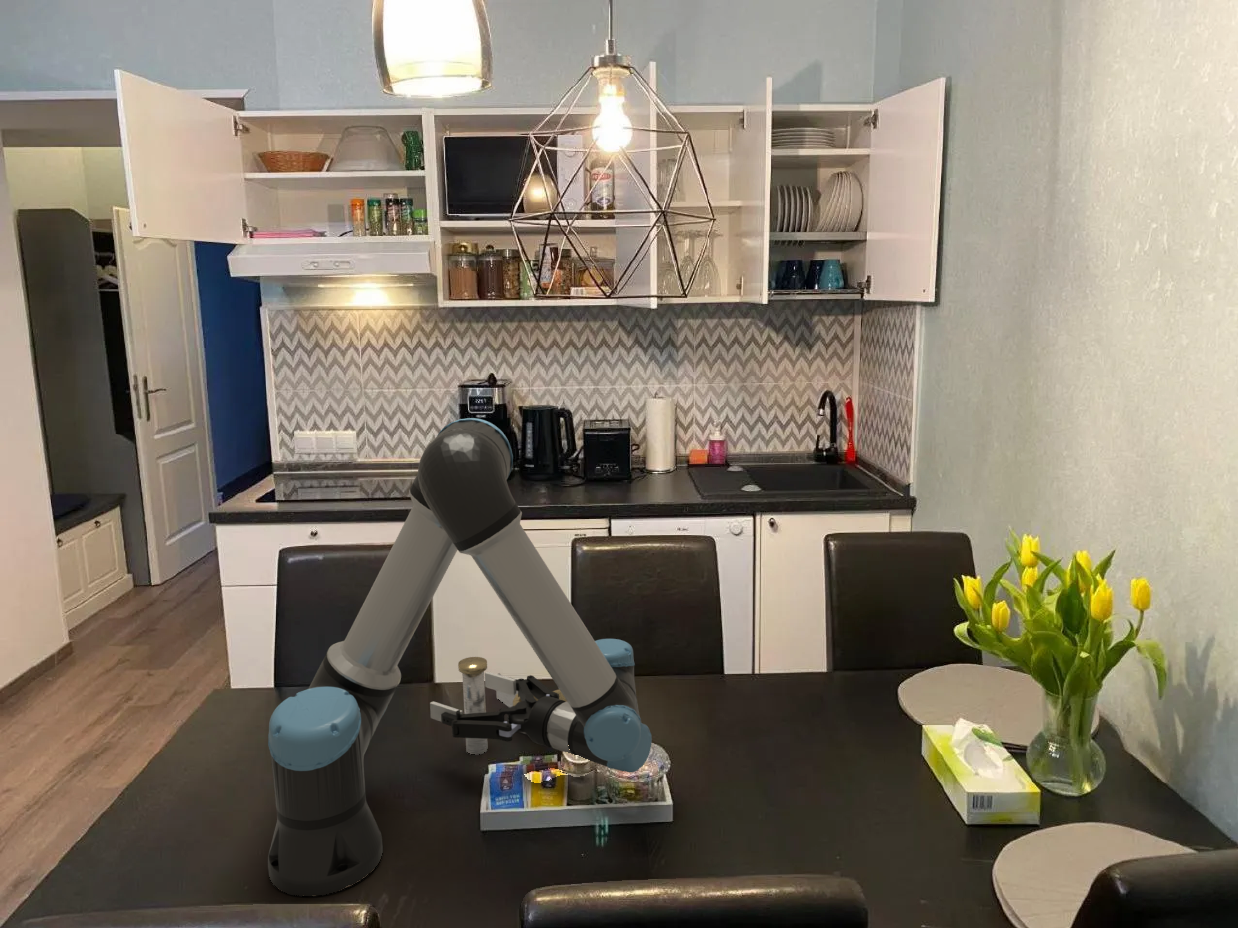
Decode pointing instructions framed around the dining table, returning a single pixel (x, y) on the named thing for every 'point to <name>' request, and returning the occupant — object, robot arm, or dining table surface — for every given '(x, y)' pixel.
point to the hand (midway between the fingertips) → (459, 693)
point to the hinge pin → (474, 696)
